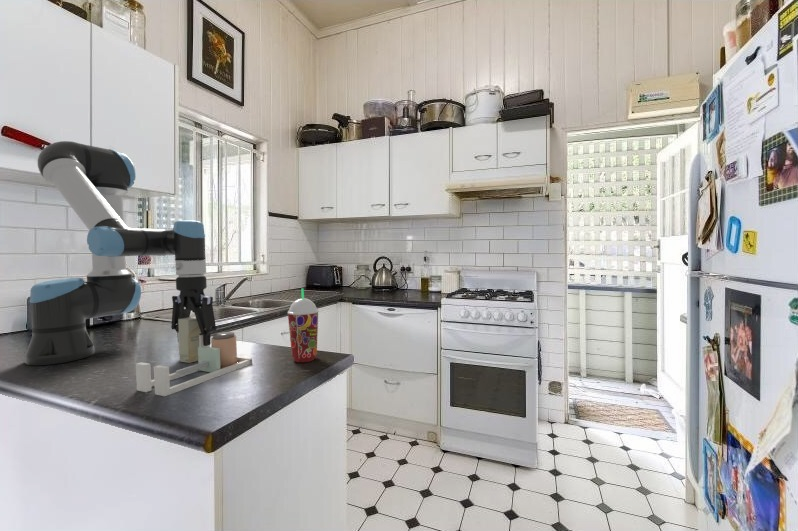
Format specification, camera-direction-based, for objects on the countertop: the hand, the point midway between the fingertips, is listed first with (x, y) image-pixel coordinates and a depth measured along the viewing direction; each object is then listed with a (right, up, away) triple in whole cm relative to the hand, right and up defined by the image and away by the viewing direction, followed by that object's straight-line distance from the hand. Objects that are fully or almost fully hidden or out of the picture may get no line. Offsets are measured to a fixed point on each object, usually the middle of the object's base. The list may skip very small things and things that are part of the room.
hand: (194, 355), depth 105 cm
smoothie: (+32, -1, -2) cm, 32 cm away
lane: (+9, -2, -14) cm, 17 cm away
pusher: (+9, -1, -15) cm, 18 cm away
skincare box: (0, -1, 0) cm, 1 cm away
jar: (+12, -1, -7) cm, 14 cm away
